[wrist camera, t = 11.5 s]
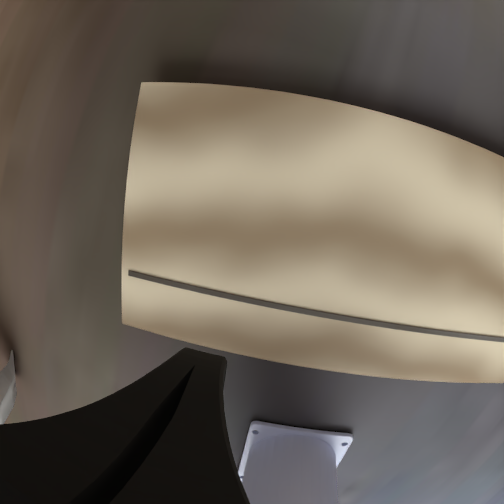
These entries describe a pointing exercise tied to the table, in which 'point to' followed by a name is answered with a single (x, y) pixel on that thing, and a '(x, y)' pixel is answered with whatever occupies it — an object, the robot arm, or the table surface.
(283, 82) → the table surface
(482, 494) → the table surface
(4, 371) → the hammer
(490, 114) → the table surface
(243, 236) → the board
